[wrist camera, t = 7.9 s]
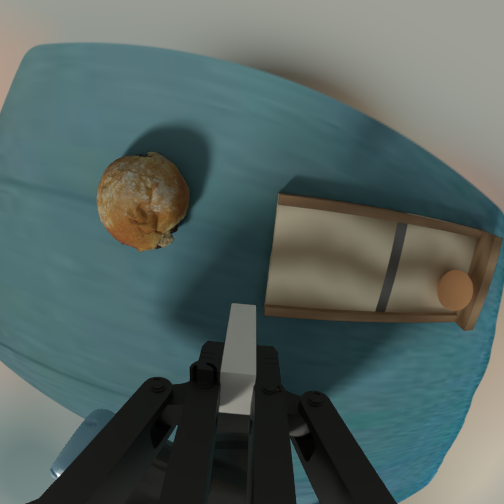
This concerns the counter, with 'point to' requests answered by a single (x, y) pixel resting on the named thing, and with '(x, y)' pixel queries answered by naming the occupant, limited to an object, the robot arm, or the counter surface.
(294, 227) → the lane
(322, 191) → the counter surface
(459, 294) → the ball
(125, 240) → the bread roll
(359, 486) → the robot arm
